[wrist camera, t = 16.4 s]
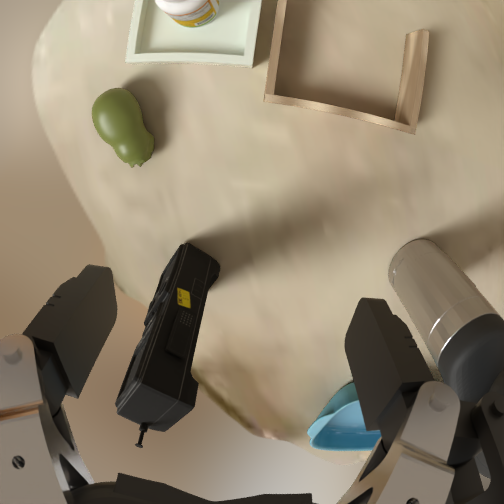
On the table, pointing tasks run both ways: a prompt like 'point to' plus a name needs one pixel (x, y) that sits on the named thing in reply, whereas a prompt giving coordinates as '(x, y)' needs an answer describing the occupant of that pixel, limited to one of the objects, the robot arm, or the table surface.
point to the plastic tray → (194, 36)
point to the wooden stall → (403, 117)
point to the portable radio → (168, 345)
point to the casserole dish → (342, 425)
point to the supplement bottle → (190, 11)
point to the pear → (123, 126)
